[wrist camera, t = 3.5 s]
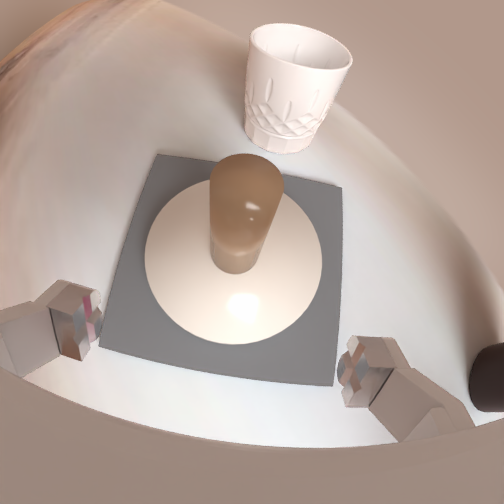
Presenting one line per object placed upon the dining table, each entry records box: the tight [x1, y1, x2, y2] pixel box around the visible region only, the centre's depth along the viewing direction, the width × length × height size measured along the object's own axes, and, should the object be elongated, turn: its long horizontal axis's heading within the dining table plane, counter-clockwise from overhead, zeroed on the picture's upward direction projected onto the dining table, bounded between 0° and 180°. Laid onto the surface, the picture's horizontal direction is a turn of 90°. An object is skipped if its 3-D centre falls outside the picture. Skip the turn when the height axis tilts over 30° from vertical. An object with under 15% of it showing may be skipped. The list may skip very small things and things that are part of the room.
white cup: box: [244, 23, 353, 154], centre depth 22 cm, size 8×8×10 cm
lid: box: [145, 154, 322, 345], centre depth 17 cm, size 12×12×9 cm
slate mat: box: [99, 154, 343, 386], centre depth 21 cm, size 16×16×1 cm
